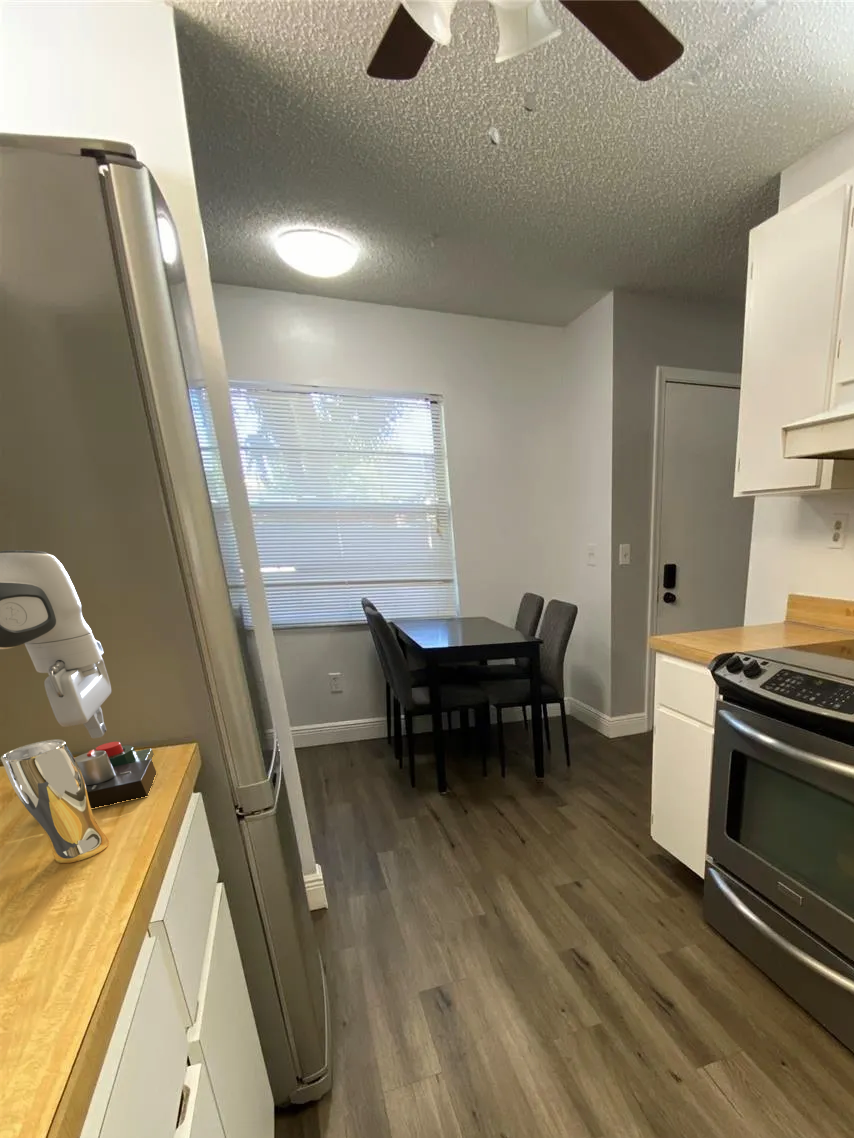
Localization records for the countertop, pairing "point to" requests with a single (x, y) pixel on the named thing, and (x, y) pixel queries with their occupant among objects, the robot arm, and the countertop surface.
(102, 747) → the button
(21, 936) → the countertop surface
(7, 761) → the beer glass
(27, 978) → the countertop surface
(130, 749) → the switch block
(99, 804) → the panel
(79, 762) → the knob
